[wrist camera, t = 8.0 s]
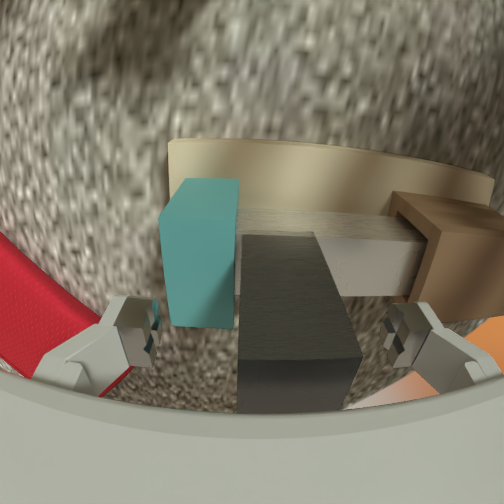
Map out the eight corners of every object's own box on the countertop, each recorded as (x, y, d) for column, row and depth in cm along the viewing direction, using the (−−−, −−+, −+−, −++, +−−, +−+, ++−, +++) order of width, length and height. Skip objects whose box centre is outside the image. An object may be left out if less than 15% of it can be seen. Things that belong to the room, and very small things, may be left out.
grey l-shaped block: (433, 220, 15) (538, 328, 7) (419, 265, 17) (501, 383, 8) (206, 206, 15) (160, 354, 7) (207, 259, 16) (177, 418, 8)
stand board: (482, 173, 17) (495, 179, 15) (450, 280, 21) (459, 291, 20) (174, 138, 16) (168, 142, 15) (181, 276, 20) (177, 289, 19)
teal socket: (239, 178, 16) (235, 219, 11) (236, 265, 18) (233, 329, 13) (185, 177, 16) (158, 217, 11) (189, 263, 18) (171, 325, 13)
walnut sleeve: (486, 204, 16) (536, 241, 11) (464, 270, 19) (504, 315, 14) (392, 190, 16) (442, 231, 11) (374, 269, 18) (407, 325, 14)
